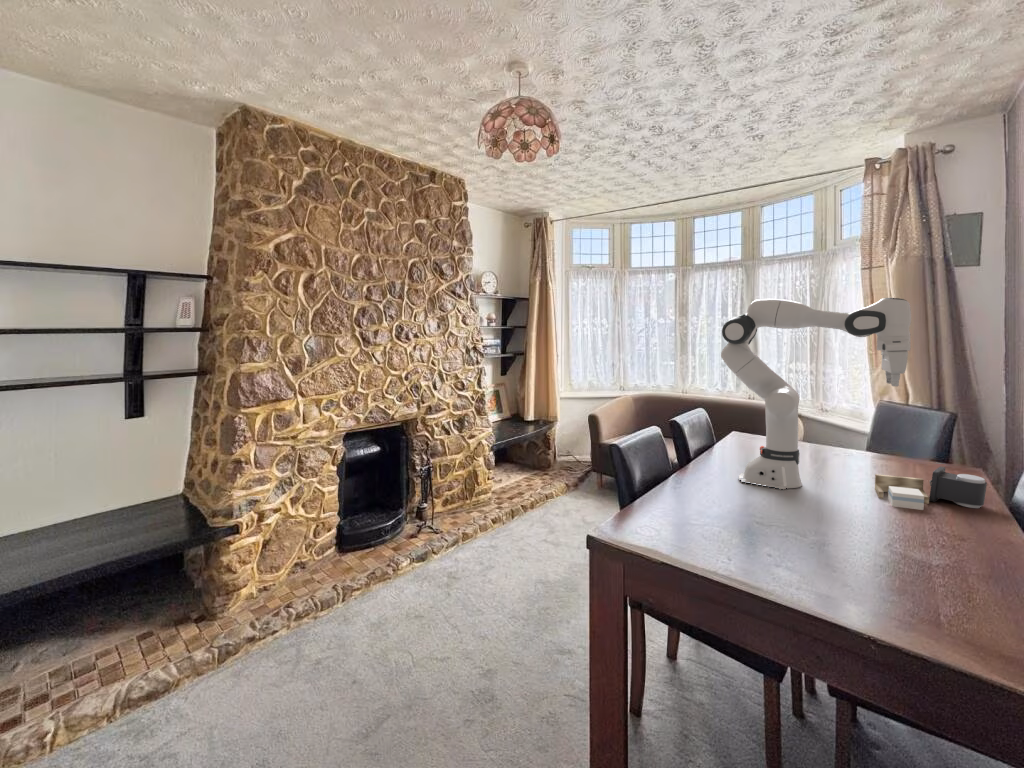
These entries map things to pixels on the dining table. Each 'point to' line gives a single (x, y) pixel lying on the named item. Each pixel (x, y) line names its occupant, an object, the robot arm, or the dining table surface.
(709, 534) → the dining table surface
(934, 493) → the light fixture
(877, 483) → the stand
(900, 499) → the carton
